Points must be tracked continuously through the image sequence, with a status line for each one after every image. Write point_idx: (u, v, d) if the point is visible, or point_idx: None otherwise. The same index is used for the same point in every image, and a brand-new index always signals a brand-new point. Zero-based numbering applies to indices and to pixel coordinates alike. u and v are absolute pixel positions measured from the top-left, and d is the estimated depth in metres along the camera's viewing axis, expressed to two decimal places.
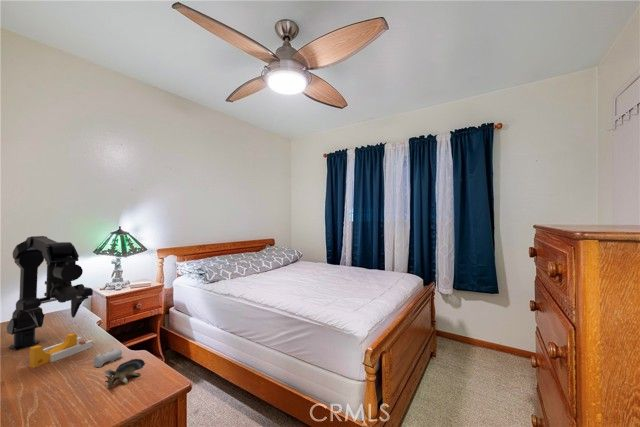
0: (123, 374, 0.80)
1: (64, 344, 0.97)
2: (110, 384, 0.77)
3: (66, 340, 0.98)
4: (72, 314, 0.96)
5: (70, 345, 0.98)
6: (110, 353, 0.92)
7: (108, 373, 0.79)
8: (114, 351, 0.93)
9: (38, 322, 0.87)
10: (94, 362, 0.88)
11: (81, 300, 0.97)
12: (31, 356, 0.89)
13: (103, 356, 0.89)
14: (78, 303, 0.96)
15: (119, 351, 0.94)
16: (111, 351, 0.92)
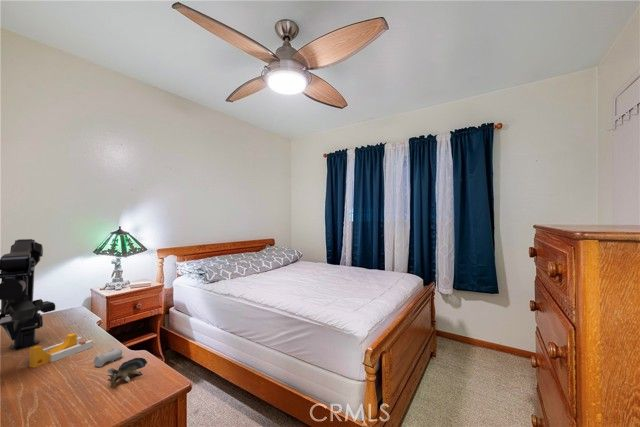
0: (125, 373, 0.80)
1: (64, 344, 0.97)
2: (113, 382, 0.78)
3: (66, 340, 0.98)
4: None
5: (70, 345, 0.98)
6: (111, 353, 0.92)
7: (110, 372, 0.80)
8: (114, 351, 0.93)
9: (11, 335, 0.85)
10: (95, 362, 0.88)
11: (23, 320, 0.87)
12: (31, 356, 0.89)
13: (104, 356, 0.89)
14: (20, 324, 0.86)
15: (119, 351, 0.94)
16: (111, 351, 0.93)
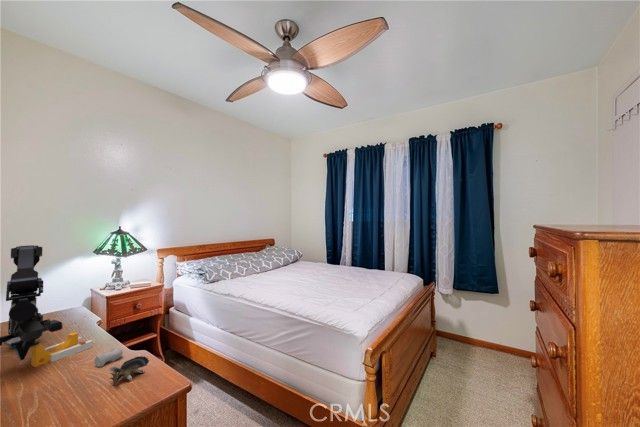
0: (128, 371, 0.81)
1: (66, 343, 0.98)
2: (115, 381, 0.78)
3: (67, 339, 0.98)
4: None
5: (71, 344, 0.98)
6: (111, 353, 0.92)
7: (113, 370, 0.81)
8: (115, 351, 0.93)
9: (20, 355, 0.87)
10: (95, 362, 0.88)
11: (31, 340, 0.88)
12: (33, 355, 0.89)
13: (104, 356, 0.90)
14: (28, 344, 0.88)
15: (120, 351, 0.94)
16: (112, 351, 0.93)
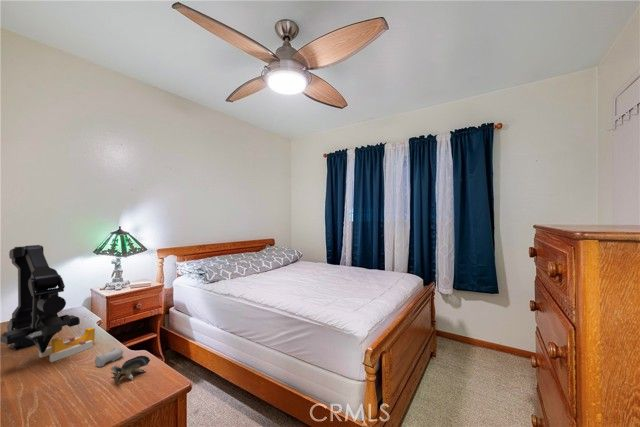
0: (129, 370, 0.82)
1: (83, 337, 1.02)
2: (116, 380, 0.79)
3: (85, 334, 1.03)
4: None
5: (88, 339, 1.03)
6: (112, 353, 0.92)
7: (114, 369, 0.81)
8: (115, 351, 0.93)
9: (41, 348, 0.92)
10: (95, 362, 0.88)
11: (51, 334, 0.93)
12: (52, 348, 0.94)
13: (105, 356, 0.90)
14: (48, 337, 0.93)
15: (120, 351, 0.94)
16: (112, 351, 0.93)
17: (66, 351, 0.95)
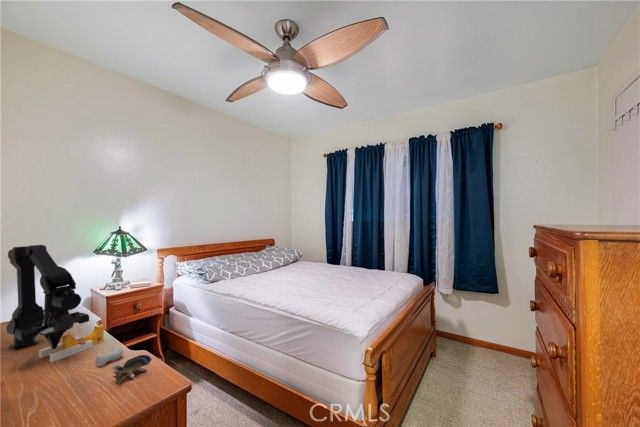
0: (130, 370, 0.82)
1: (92, 334, 1.05)
2: (118, 379, 0.79)
3: (94, 331, 1.06)
4: None
5: (97, 335, 1.05)
6: (112, 353, 0.92)
7: (116, 369, 0.81)
8: (116, 351, 0.93)
9: (53, 345, 0.94)
10: (96, 362, 0.88)
11: (63, 331, 0.96)
12: (63, 344, 0.97)
13: (105, 356, 0.90)
14: (60, 334, 0.96)
15: (120, 351, 0.94)
16: (112, 351, 0.93)
17: (66, 351, 0.95)
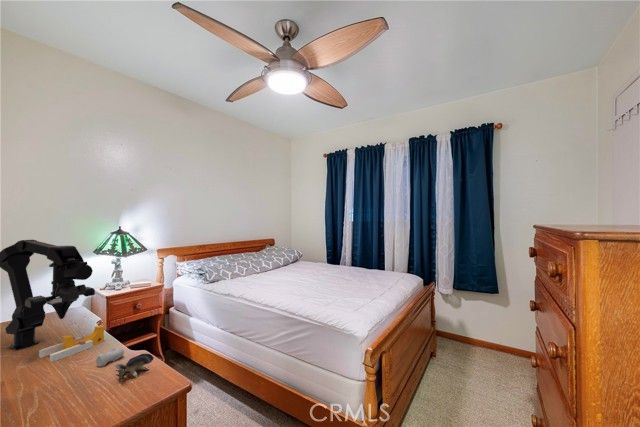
0: (133, 368, 0.83)
1: (93, 335, 1.05)
2: (121, 377, 0.80)
3: (95, 331, 1.06)
4: None
5: (98, 336, 1.05)
6: (112, 353, 0.92)
7: (118, 367, 0.82)
8: (116, 351, 0.93)
9: (60, 315, 1.00)
10: (97, 362, 0.89)
11: (70, 302, 1.01)
12: (64, 344, 0.97)
13: (106, 356, 0.90)
14: (67, 305, 1.01)
15: (121, 350, 0.94)
16: (113, 351, 0.93)
17: (66, 351, 0.95)
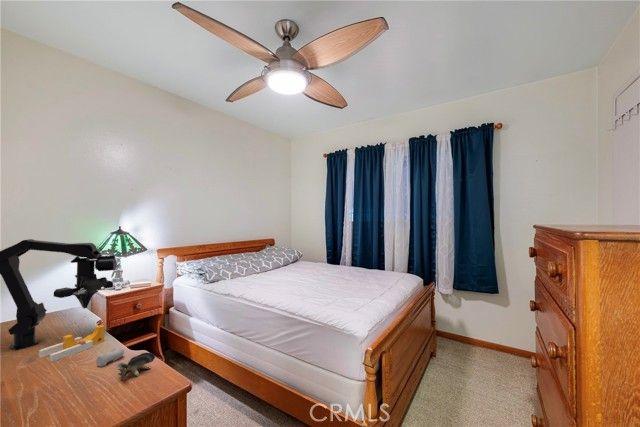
0: (135, 367, 0.83)
1: (93, 335, 1.05)
2: (123, 376, 0.81)
3: (95, 331, 1.06)
4: None
5: (98, 336, 1.06)
6: (113, 353, 0.92)
7: (120, 366, 0.83)
8: (116, 350, 0.93)
9: (84, 304, 1.11)
10: (97, 362, 0.89)
11: (92, 293, 1.13)
12: (64, 344, 0.97)
13: (106, 355, 0.90)
14: (89, 296, 1.12)
15: (121, 350, 0.94)
16: (113, 350, 0.93)
17: (66, 351, 0.95)
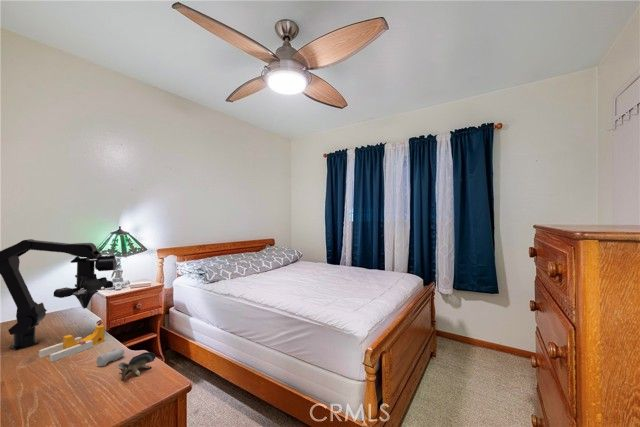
0: (136, 366, 0.84)
1: (93, 335, 1.05)
2: (124, 376, 0.81)
3: (95, 331, 1.06)
4: None
5: (98, 336, 1.05)
6: (113, 353, 0.92)
7: (121, 366, 0.83)
8: (117, 350, 0.93)
9: (84, 304, 1.11)
10: (97, 362, 0.89)
11: (92, 293, 1.13)
12: (64, 344, 0.97)
13: (106, 355, 0.90)
14: (89, 296, 1.12)
15: (122, 350, 0.94)
16: (114, 350, 0.93)
17: (66, 351, 0.95)
